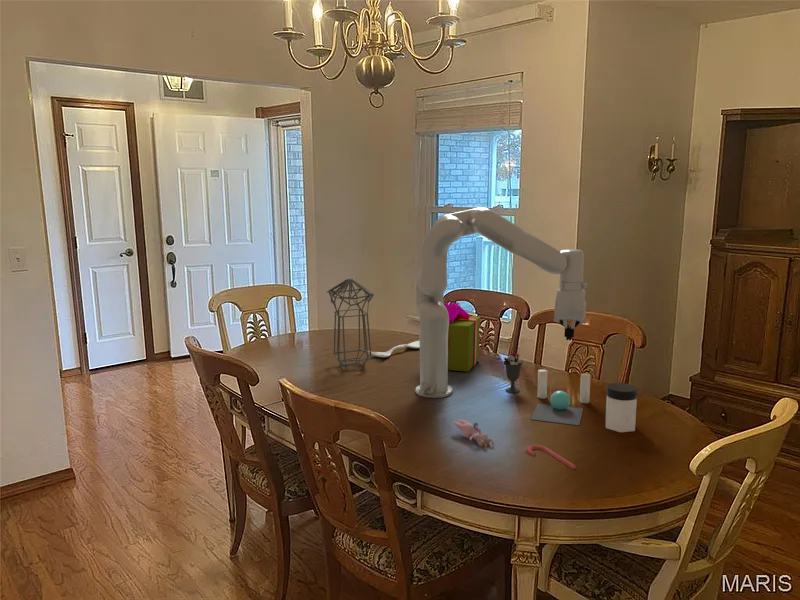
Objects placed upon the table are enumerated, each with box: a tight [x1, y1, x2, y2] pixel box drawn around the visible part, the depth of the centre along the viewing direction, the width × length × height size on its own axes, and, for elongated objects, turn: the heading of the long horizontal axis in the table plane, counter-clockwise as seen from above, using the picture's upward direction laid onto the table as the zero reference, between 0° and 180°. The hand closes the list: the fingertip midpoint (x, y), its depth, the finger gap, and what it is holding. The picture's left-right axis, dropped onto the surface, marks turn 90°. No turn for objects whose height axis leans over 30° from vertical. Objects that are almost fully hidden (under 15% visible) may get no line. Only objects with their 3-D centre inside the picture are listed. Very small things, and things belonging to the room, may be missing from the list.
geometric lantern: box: [326, 278, 375, 372], centre depth 232 cm, size 16×16×35 cm
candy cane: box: [525, 444, 577, 470], centre depth 155 cm, size 6×15×2 cm, turn 24°
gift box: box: [444, 301, 481, 372], centre depth 235 cm, size 21×21×25 cm
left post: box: [536, 369, 548, 400], centre depth 199 cm, size 3×3×9 cm
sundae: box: [502, 347, 524, 394], centre depth 205 cm, size 7×7×15 cm
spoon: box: [368, 340, 420, 358], centre depth 257 cm, size 9×32×4 cm, turn 134°
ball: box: [549, 390, 571, 410], centre depth 188 cm, size 6×6×6 cm
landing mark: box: [530, 403, 584, 426], centre depth 185 cm, size 14×14×1 cm
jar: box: [604, 382, 638, 434], centre depth 173 cm, size 9×8×12 cm
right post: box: [579, 373, 591, 404], centre depth 194 cm, size 3×3×9 cm
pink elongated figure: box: [452, 419, 495, 450], centre depth 167 cm, size 6×6×15 cm
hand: (569, 339), depth 206 cm, fingers closed
